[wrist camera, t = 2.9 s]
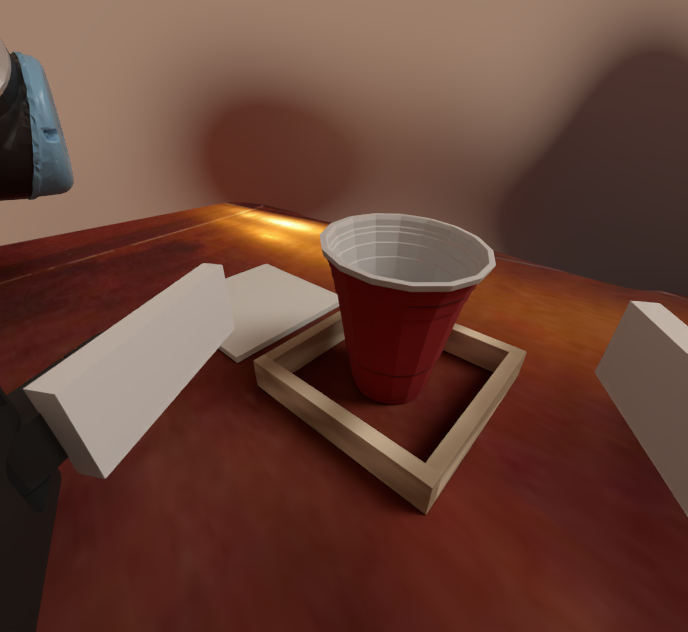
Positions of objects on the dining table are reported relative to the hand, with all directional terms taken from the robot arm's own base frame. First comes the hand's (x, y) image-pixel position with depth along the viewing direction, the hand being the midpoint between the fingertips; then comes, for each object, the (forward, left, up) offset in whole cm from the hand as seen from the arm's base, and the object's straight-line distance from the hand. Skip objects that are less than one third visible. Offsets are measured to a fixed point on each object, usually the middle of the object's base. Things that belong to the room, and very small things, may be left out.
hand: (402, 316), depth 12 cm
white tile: (-24, +9, -13) cm, 28 cm away
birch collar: (-6, +9, -13) cm, 17 cm away
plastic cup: (-6, +9, -13) cm, 17 cm away
